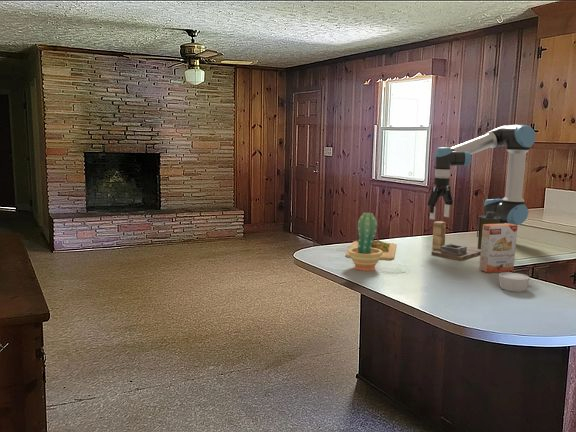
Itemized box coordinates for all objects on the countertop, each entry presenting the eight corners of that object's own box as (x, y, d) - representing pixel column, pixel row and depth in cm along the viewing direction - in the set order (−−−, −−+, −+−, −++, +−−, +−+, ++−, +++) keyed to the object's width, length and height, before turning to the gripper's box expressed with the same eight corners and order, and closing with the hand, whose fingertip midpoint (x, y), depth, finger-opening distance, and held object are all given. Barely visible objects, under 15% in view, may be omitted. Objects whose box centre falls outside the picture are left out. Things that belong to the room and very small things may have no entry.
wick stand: (456, 247, 284) (457, 239, 283) (485, 253, 272) (485, 244, 272) (431, 254, 268) (431, 245, 267) (460, 260, 256) (461, 251, 255)
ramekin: (503, 283, 218) (504, 270, 217) (532, 288, 211) (533, 275, 210) (493, 289, 210) (494, 276, 209) (523, 294, 203) (524, 281, 202)
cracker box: (487, 273, 233) (490, 226, 229) (478, 270, 238) (481, 223, 235) (514, 271, 236) (518, 224, 233) (505, 268, 242) (509, 222, 239)
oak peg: (436, 246, 286) (438, 221, 284) (444, 248, 283) (445, 222, 281) (432, 248, 283) (433, 222, 281) (439, 249, 280) (441, 223, 278)
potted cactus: (388, 267, 241) (390, 212, 237) (369, 274, 230) (371, 216, 226) (360, 262, 251) (361, 209, 247) (340, 268, 240) (342, 213, 236)
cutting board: (393, 261, 256) (394, 246, 255) (344, 258, 261) (345, 243, 260) (396, 246, 289) (397, 232, 288) (353, 244, 295) (353, 230, 294)
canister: (495, 248, 284) (497, 210, 281) (500, 252, 274) (503, 213, 271) (474, 247, 285) (476, 210, 282) (478, 251, 275) (481, 213, 272)
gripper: (448, 176, 288) (445, 215, 291) (422, 177, 271) (419, 219, 275) (461, 177, 283) (458, 216, 286) (435, 178, 266) (432, 221, 269)
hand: (439, 218), depth 280 cm, fingers open, 13 cm apart
